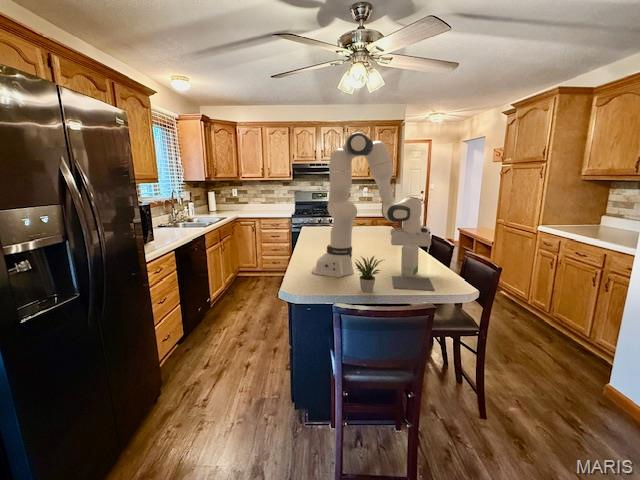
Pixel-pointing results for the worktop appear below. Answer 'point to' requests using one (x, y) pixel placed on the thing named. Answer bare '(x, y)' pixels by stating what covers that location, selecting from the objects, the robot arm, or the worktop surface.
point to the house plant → (367, 275)
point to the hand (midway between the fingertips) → (409, 253)
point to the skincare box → (409, 260)
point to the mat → (412, 283)
